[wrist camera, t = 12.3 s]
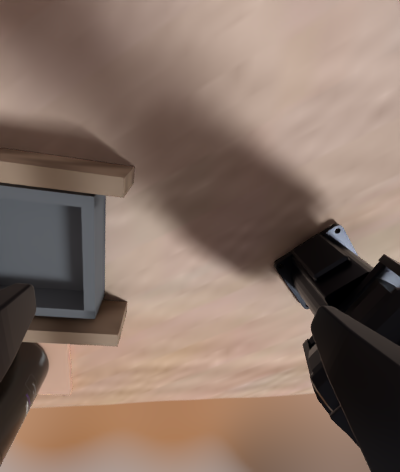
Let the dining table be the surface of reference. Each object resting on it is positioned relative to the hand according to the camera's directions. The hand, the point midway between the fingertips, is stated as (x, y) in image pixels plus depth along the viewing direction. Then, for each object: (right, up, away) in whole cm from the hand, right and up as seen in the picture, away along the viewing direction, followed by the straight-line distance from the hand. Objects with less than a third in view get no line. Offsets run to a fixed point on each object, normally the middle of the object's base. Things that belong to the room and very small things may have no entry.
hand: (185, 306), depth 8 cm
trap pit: (-12, +2, +12) cm, 17 cm away
